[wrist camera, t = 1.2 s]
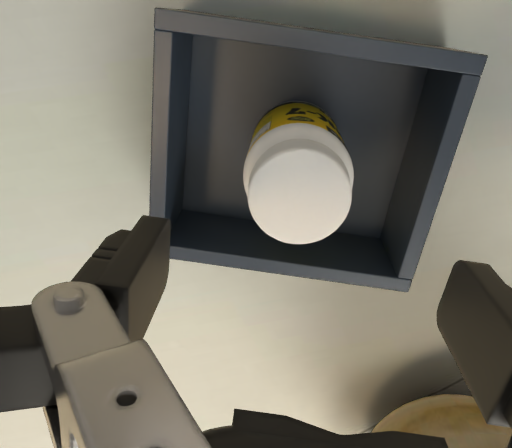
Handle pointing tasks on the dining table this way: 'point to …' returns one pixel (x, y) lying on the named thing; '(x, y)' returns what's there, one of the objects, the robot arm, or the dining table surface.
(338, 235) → the open box
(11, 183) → the dining table surface
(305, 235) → the supplement bottle
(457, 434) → the decorative ball
